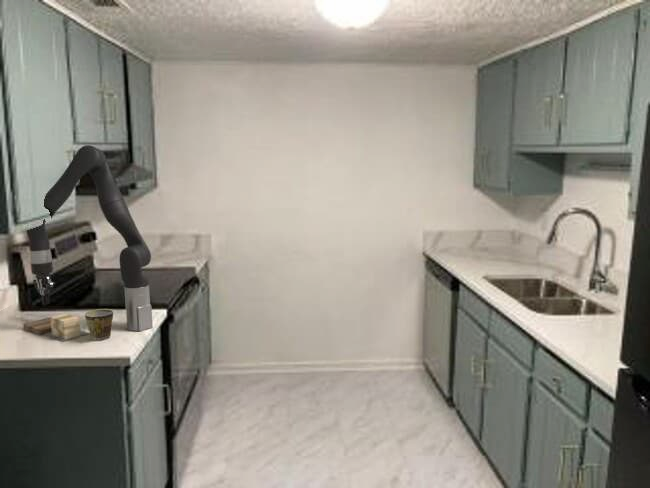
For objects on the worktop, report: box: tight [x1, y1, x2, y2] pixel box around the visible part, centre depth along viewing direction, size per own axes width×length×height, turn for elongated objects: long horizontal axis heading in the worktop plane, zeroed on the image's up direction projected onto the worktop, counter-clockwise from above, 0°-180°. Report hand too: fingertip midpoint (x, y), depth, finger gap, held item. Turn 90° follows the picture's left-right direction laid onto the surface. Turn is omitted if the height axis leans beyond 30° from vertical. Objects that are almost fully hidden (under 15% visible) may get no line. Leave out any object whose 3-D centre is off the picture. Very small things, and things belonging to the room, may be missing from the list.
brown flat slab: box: [22, 316, 52, 336], centre depth 221 cm, size 14×12×2 cm
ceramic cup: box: [84, 308, 114, 342], centre depth 207 cm, size 13×10×10 cm
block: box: [50, 312, 81, 339], centre depth 211 cm, size 10×6×7 cm, turn 53°
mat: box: [43, 329, 90, 342], centre depth 214 cm, size 14×11×1 cm
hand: (46, 303), depth 219 cm, fingers closed
